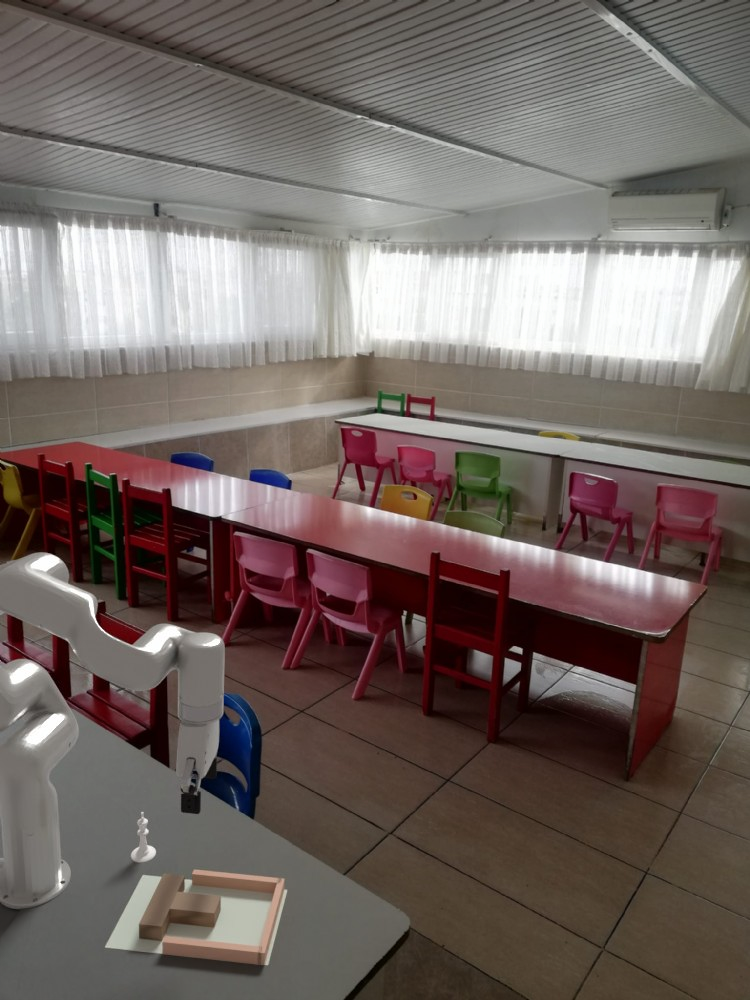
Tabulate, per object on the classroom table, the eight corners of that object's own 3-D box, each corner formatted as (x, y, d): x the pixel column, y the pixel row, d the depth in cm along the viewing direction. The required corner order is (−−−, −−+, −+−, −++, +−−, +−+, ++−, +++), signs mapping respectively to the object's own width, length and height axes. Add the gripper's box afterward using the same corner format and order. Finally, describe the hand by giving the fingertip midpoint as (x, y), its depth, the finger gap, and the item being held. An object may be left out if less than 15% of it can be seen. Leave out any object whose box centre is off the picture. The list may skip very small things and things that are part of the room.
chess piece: (129, 867, 145) (128, 822, 143) (130, 849, 150) (129, 806, 147) (156, 863, 146) (155, 819, 144) (156, 846, 151) (155, 803, 149)
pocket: (162, 953, 125) (162, 941, 125) (194, 880, 142) (193, 869, 141) (264, 964, 124) (264, 953, 124) (284, 889, 141) (284, 878, 140)
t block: (139, 938, 128) (138, 924, 127) (163, 887, 140) (163, 873, 139) (207, 946, 127) (207, 931, 127) (226, 893, 139) (226, 880, 138)
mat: (104, 950, 126) (104, 947, 126) (142, 877, 143) (142, 874, 142) (268, 968, 124) (268, 965, 124) (287, 892, 141) (287, 889, 141)
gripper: (194, 679, 134) (193, 763, 138) (161, 731, 117) (161, 824, 122) (235, 683, 134) (233, 767, 138) (208, 735, 117) (206, 829, 121)
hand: (199, 794), depth 130 cm, fingers open, 9 cm apart
